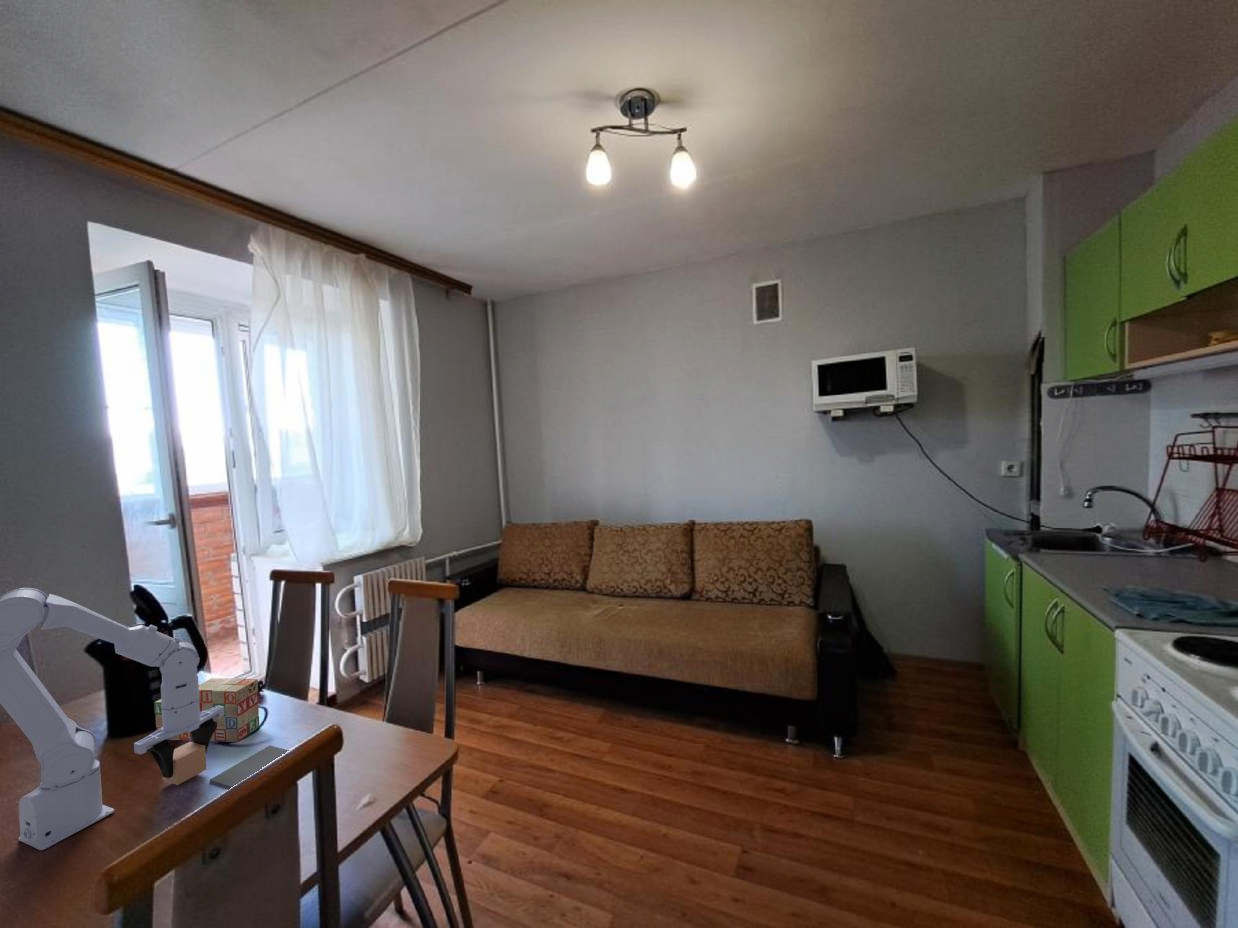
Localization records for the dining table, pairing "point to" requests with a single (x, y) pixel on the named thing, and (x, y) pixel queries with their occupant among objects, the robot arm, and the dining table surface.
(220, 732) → the stack of blocks
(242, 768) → the charcoal mat
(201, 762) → the tan cube
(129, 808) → the dining table surface
